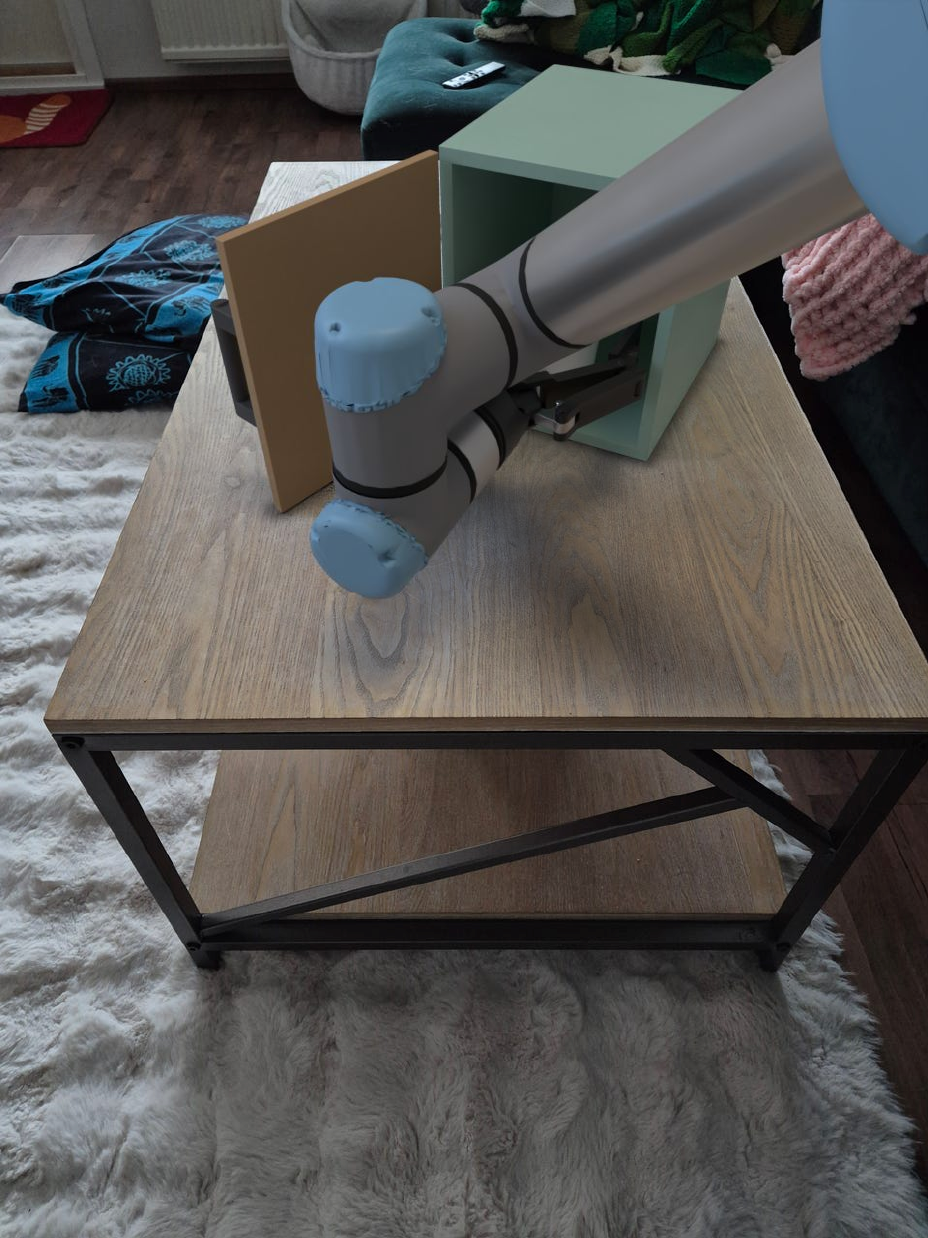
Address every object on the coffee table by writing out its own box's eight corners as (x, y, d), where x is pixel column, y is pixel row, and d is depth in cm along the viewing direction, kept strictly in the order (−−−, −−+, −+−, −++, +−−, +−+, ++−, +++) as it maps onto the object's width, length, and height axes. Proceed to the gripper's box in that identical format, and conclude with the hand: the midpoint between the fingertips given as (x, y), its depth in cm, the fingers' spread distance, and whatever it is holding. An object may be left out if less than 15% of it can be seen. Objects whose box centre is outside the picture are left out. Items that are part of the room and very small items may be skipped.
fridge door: (237, 483, 78) (168, 215, 60) (401, 385, 89) (383, 133, 71) (282, 513, 75) (223, 241, 58) (445, 408, 86) (438, 151, 68)
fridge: (646, 461, 80) (697, 191, 62) (445, 404, 87) (438, 145, 69) (716, 342, 95) (774, 94, 76) (539, 300, 101) (553, 63, 83)
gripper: (327, 437, 72) (445, 322, 84) (606, 526, 64) (691, 385, 76) (315, 357, 66) (444, 247, 79) (619, 444, 58) (708, 306, 71)
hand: (566, 315), depth 78 cm, fingers open, 13 cm apart
